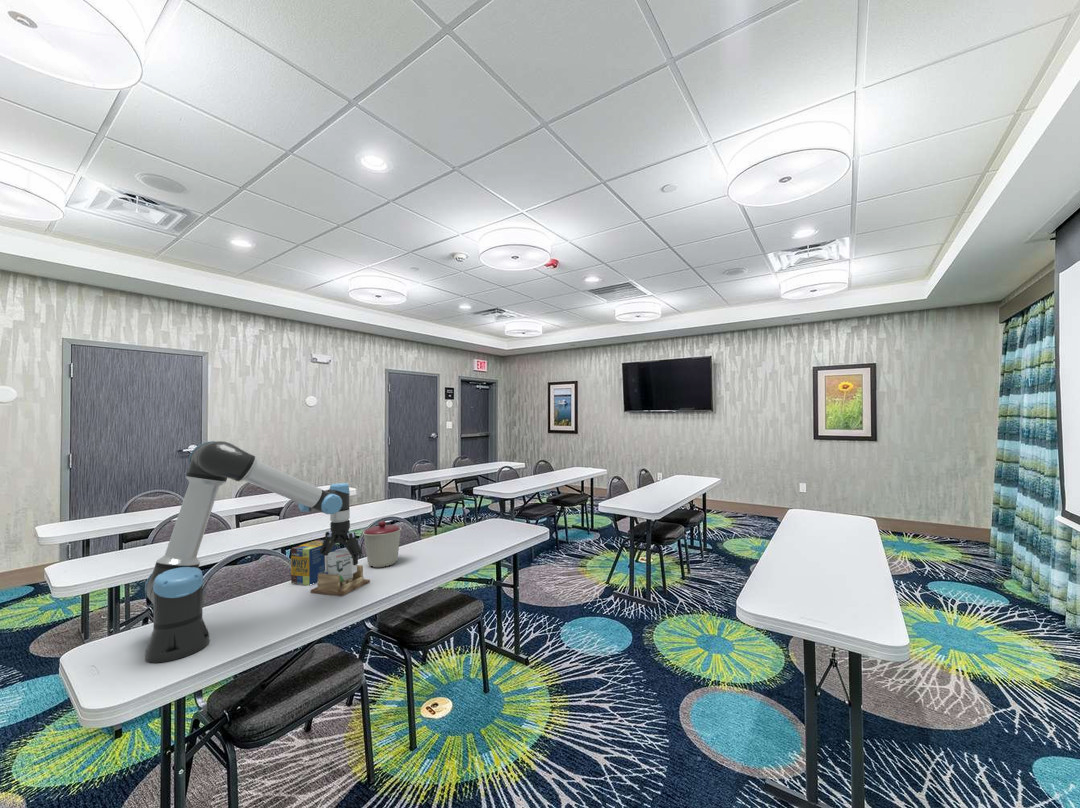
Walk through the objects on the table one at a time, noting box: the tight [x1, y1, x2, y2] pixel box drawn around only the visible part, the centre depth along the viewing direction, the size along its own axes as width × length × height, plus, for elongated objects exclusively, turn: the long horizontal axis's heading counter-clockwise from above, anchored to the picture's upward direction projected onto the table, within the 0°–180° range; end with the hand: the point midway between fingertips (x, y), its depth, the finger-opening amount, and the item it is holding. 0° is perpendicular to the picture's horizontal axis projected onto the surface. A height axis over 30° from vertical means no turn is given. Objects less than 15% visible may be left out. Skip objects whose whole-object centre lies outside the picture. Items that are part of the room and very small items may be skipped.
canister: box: [362, 520, 402, 568], centre depth 215 cm, size 18×18×21 cm
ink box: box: [328, 548, 353, 582], centre depth 184 cm, size 9×5×12 cm, turn 143°
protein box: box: [290, 539, 337, 586], centre depth 197 cm, size 10×15×16 cm
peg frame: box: [310, 564, 371, 597], centre depth 184 cm, size 16×16×7 cm
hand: (340, 571), depth 184 cm, fingers open, 13 cm apart
